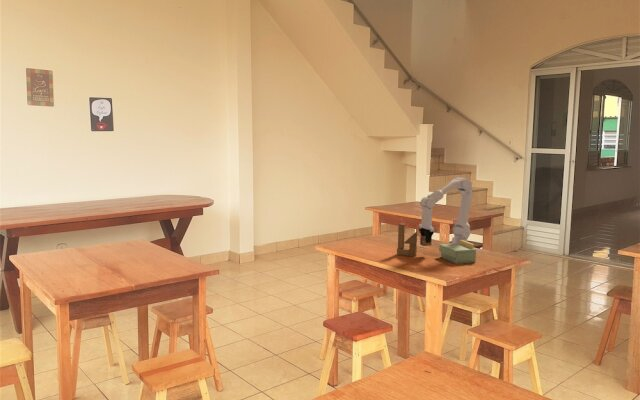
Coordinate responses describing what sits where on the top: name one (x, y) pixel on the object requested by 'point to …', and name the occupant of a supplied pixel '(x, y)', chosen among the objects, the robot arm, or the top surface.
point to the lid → (456, 248)
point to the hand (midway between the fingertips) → (426, 241)
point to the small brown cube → (424, 241)
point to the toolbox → (461, 257)
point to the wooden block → (406, 242)
